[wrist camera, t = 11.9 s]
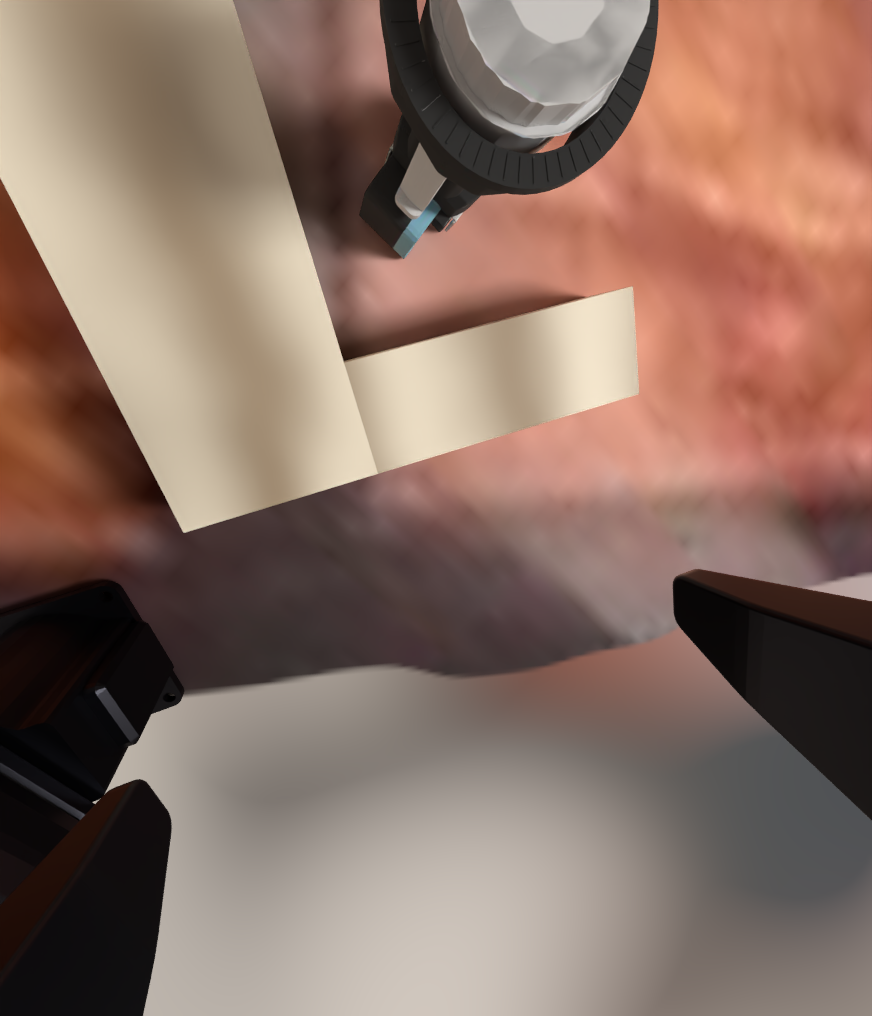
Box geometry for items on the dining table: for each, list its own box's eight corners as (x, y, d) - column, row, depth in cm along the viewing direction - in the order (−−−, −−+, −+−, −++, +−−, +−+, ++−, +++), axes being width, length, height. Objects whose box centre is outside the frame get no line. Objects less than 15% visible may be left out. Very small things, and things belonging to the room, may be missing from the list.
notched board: (205, 505, 18) (183, 532, 15) (-102, -131, 11) (-244, -295, 8) (596, 389, 20) (639, 393, 17) (540, -186, 14) (596, -326, 11)
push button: (437, 24, 15) (632, -542, 5) (539, 160, 17) (806, -84, 7) (319, 191, 15) (314, -59, 6) (431, 302, 17) (554, 239, 8)
